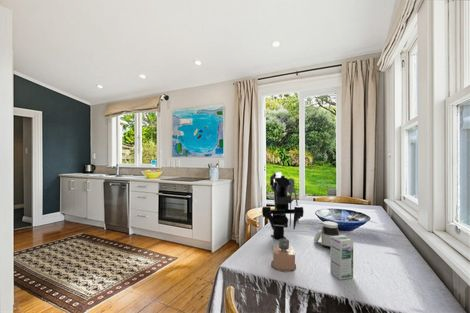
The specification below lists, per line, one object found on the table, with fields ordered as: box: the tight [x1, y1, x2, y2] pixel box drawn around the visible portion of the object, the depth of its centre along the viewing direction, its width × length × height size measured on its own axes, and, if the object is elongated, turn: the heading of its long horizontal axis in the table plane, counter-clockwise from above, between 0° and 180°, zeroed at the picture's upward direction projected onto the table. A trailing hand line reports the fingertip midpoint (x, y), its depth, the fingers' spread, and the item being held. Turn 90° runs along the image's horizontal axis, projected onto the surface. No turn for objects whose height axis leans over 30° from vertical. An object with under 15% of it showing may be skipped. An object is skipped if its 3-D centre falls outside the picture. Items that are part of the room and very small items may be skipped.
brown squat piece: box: [270, 245, 297, 273], centre depth 94 cm, size 10×10×6 cm
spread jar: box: [313, 220, 340, 250], centre depth 116 cm, size 12×11×12 cm
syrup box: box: [329, 234, 354, 281], centre depth 87 cm, size 6×6×14 cm
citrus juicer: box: [287, 177, 300, 226], centre depth 156 cm, size 11×10×30 cm
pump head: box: [278, 238, 290, 251], centre depth 93 cm, size 6×4×8 cm, turn 173°
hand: (283, 229), depth 102 cm, fingers open, 9 cm apart
